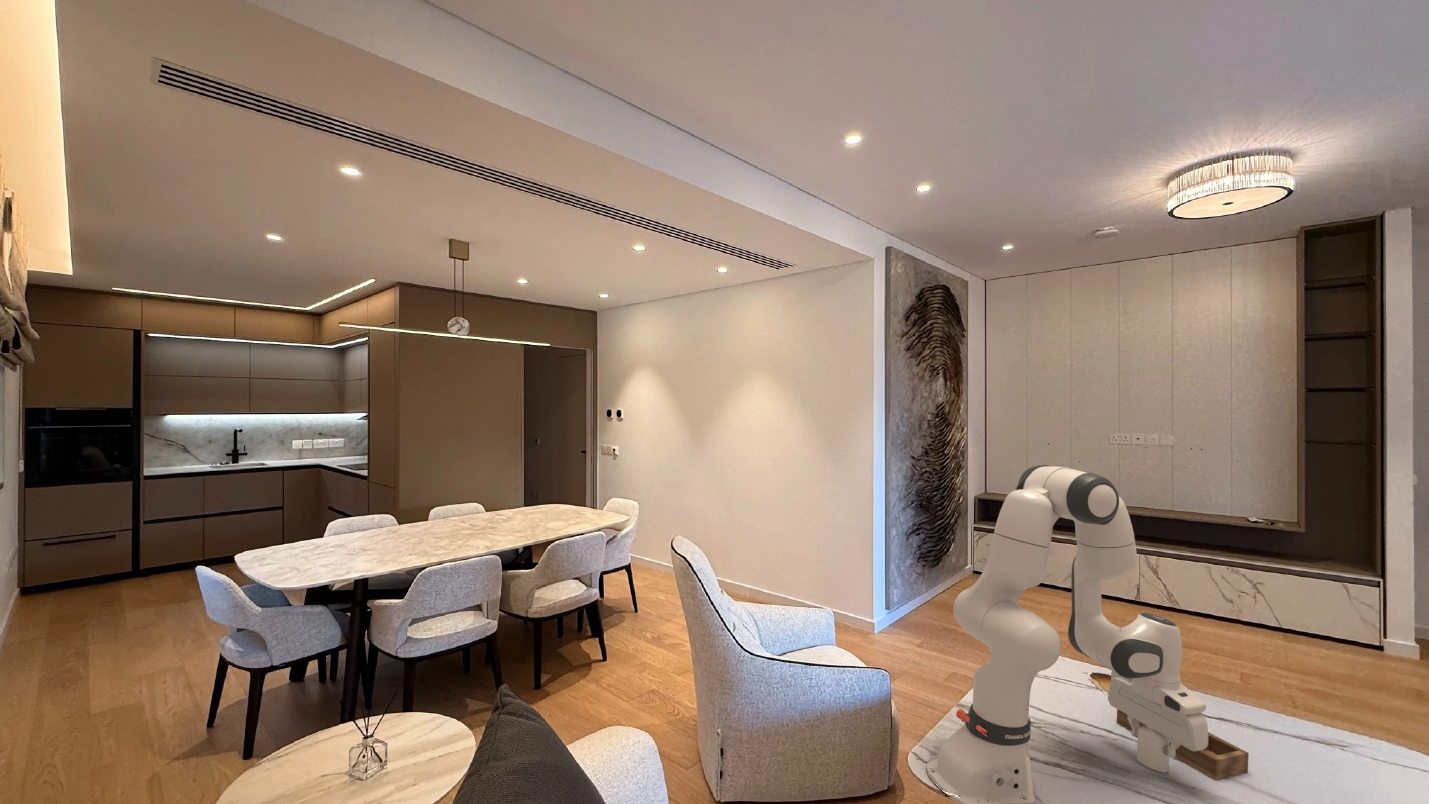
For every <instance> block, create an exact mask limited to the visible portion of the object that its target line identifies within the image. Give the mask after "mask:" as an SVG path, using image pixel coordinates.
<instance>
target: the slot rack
mask: <svg viewBox="0 0 1429 804" xmlns="http://www.w3.org/2000/svg"><path fill="white" fill-rule="evenodd" d="M1116 723H1117V724H1118V725H1120V726H1122V727H1123V728H1125V729H1127V730H1129V731H1130V732H1132V728H1131V726H1130V723H1129V721H1128V719H1127V714H1125V713H1124V712H1122V711H1120V710H1118V709H1116ZM1138 723H1139V726H1140V727H1142V726H1147V725H1145V724H1143V723H1141V722H1140V721H1138ZM1169 745H1171V743H1170V742H1169ZM1249 755H1250V754H1249V752H1247V751H1246V750H1244V749H1242V748H1240V747H1238V746H1236V745H1234V744H1232V743H1230V742H1229V741H1227V740H1225V739H1223V738H1220V737H1219V736H1217V735H1215V734H1213V733H1212V732H1209V731H1208V746H1207V748H1205V749H1203V750H1200V751H1191V750H1189V749H1188V748H1186V747H1184V746H1182V745H1180V746H1179V747H1178V748H1177V749H1176V754H1175V757H1174V758H1176V759H1177V760H1180V761H1182V762H1183V763H1185V764H1187V766H1191V767H1192V768H1194V769H1195V770H1197V771H1198V772H1200V773H1203V774H1204V775H1205V776H1207V777H1208V778H1211V779H1212V780H1214V781H1219V780H1222V779H1228V778H1232V777H1236V776H1239V775H1243V774H1247V773H1249Z"/></svg>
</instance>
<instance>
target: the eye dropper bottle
mask: <svg viewBox="0 0 1429 804" xmlns="http://www.w3.org/2000/svg"><path fill="white" fill-rule="evenodd" d="M1168 745H1169V738H1168V737H1166V736H1165V735H1163V734H1161V733H1159V732H1157V731H1156V730H1154V729H1152V728H1150V727H1149V726H1142V727H1140V728H1139V730H1138V738H1137V747H1136V760H1137V762H1138V763H1140V764H1141V765H1142V766H1144V767H1146V768H1149V769H1150V770H1153V771H1156V772H1159V773H1163V774H1165V773H1167V772H1168V770H1169V764H1170V763H1169V759H1170V757H1168V756H1167V755H1165V754H1164V753H1163V751H1164V750H1163V746H1168Z"/></svg>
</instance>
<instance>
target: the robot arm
mask: <svg viewBox="0 0 1429 804" xmlns="http://www.w3.org/2000/svg"><path fill="white" fill-rule="evenodd" d="M1125 503H1126V502H1125V501H1124V500H1123V499H1122V498H1121V497H1120V495H1119V492H1118V490H1117V487H1115V485H1114V484H1113V483H1112V482H1111V480H1109V479H1108V478H1106V477H1104V476H1101V475H1100V474H1097V473H1093V472H1086V471H1081V470H1078V469H1074V468H1072V467H1066V466H1054V465H1053V466H1052V465H1048V464H1042V465H1041V464H1039V465H1034V466H1031V467H1028V468H1027V469H1026V470H1025V471H1024V472H1023V473H1022V474H1021V476H1020V478H1019V480H1018V482H1017V485H1016V488H1015V490H1012V491H1011V492H1010V493H1008V494H1007V496H1006V497H1005V500H1004V501H1003V503H1002V506H1001V508H1000V510H999V513H998V517H997V520H996V523H995V527H994V532H993V535H992V536H993V537H992V539H991V540H992V541H991V545H990V548H989V553H988V554H989V555H988V557H987V561H986V564H985V567H984V569H983V571H982V572H981V575H980V576H979V578H978V579H977V580H976V582H975V583H974V584H973V585H972V586H970V587H968V588H966V589H964V590H962V591H961V592H960V593H959V594H958V595H957V596H956V598H955V600H954V602H953V610H952V611H953V615H954V619H955V620H956V622H957V623H958V624H959V625H960V626H961V627H962V628H963V630H965V631H966V633H968V634H969V635H970V636H971V637H973V638H974V639H976V640H977V641H979V642H981V643H982V644H983V645H986V646H987V647H988V648H989V650H990V658H989V662H988V663H985V664H983V665H981V666H979V667H978V668H977V669H976V670H975V671H974V674H973V686H972V703H971V705H970V706H969V710H968V712H965V711H964V709H961V708H958V709H957V711H956V712H955V716H956V718H957V719H959V720H961V721H962V722H963V723H964V724H963V725H962V726H961V727H959V728H958V729H957V730H956V731H955V732H954V733H953V734H951V736H949V737H948V738H947V739H946V740H945V741H943V742H942V743H941V744H940V747H939V751H938V755H937V758H936V759H933V760H931V761H928V762H927V763H926V766H925V771H926V773H928V774H927V775H928V777H929V779H930V778H931V779H930V780H931V781H932V782H933V784H934V785H935V784H937V785H938V787H937V788H938V789H939V790H940V789H942V790H943V791H945V792H948V793H952V794H955V795H958V796H959V797H960V798H958V797H955V795H950V796H951V797H953V798H951V797H948V798H949V799H951V800H952V801H953V802H955V803H957V804H1036V798H1035V795H1034V793H1035V790H1036V785H1035V782H1034V778H1033V773H1032V765H1031V757H1030V756H1031V755H1030V748H1029V747H1030V745H1029V741H1030V740H1031V733H1032V729H1031V726H1032V725H1031V719H1030V717H1029V716H1030V715H1029V714H1030V701H1031V699H1030V698H1031V690H1032V689H1031V688H1032V684H1033V681H1034V680H1035V678H1036V676H1037V675H1038V674H1039V673H1040V672H1042V671H1045V670H1047V669H1049V668H1051V667H1053V665H1054V664H1056V662H1057V661H1058V660H1059V658H1060V655H1061V650H1062V642H1061V638H1060V635H1059V633H1058V632H1057V630H1056V629H1055V628H1054V627H1053V626H1052V625H1050V623H1048V622H1047V621H1045V619H1043V618H1042V617H1040V616H1039V615H1038V614H1036V613H1035V612H1032V611H1030V610H1028V609H1025V608H1024V607H1021V606H1020V605H1019V601H1020V599H1021V597H1022V595H1023V594H1024V593H1025V591H1027V589H1031V588H1034V587H1037V586H1039V585H1040V584H1041V583H1042V582H1043V580H1044V576H1045V572H1046V567H1047V562H1048V558H1049V554H1050V553H1049V552H1050V547H1051V543H1052V536H1053V530H1054V529H1053V528H1054V525H1055V523H1056V522H1057V521H1058V519H1060V518H1063V519H1067V520H1072V521H1073V522H1074V526H1075V527H1074V531H1075V540H1076V548H1077V549H1076V555H1075V557H1074V558H1073V561H1072V564H1071V576H1070V577H1071V578H1070V579H1071V615H1070V620H1069V624H1068V628H1067V629H1068V630H1067V635H1068V641H1069V643H1070V644H1071V646H1072V647H1073V649H1074V650H1076V652H1078V653H1079V654H1081V655H1083V656H1085V657H1088V658H1090V659H1091V660H1093V661H1095V662H1097V663H1098V664H1099V665H1100V666H1101V665H1102V666H1103V667H1105V668H1106V669H1108V670H1110V671H1111V672H1110V675H1111V682H1110V686H1109V692H1108V696H1107V701H1108V704H1109V705H1110V706H1111V707H1112V708H1114V709H1116V710H1117V709H1118V710H1120V711H1122V712H1124V713H1125V714H1127V719H1128V721H1129V723H1130V726H1131V728H1132V731H1131V735H1132V737H1133V736H1134V738H1137V739H1138V730H1139V728H1140V726H1139V723H1138V721H1140V722H1141V723H1143V724H1145V725H1147V726H1149V727H1150V728H1152V729H1154V730H1156V731H1157V732H1159V733H1161V734H1163V735H1165V736H1166V737H1168V738H1169V742H1170V743H1171V745H1168V746H1163V750H1164V751H1163V753H1164V754H1165V755H1167V756H1168V757H1169V759H1171V758H1172V759H1173V758H1176V757H1175V754H1176V749H1177V748H1178V747H1179V746H1180V745H1182V746H1184V747H1186V748H1188V749H1189V750H1191V751H1200V750H1203V749H1205V748H1207V746H1208V732H1209V729H1208V728H1209V727H1208V721H1207V718H1206V716H1205V715H1204V714H1203V713H1204V712H1205V711H1206V709H1207V705H1206V703H1205V701H1203V700H1202V699H1201V698H1200V697H1198V696H1197V695H1196V694H1195V693H1194V692H1192V691H1191V690H1189V689H1188V688H1187V687H1186V686H1185V685H1184V684H1183V683H1182V682H1181V680H1182V679H1181V678H1182V677H1181V674H1180V666H1181V663H1182V662H1183V661H1182V660H1183V645H1182V644H1183V643H1182V642H1183V641H1182V634H1181V631H1180V628H1179V627H1178V625H1177V624H1176V623H1174V622H1173V621H1171V620H1170V619H1167V618H1165V617H1162V616H1160V615H1157V614H1153V613H1149V612H1141V613H1140V612H1139V613H1138V614H1137V616H1136V619H1135V620H1134V621H1132V622H1131V623H1129V624H1128V625H1125V626H1123V627H1120V626H1118V625H1115V624H1113V623H1112V622H1110V621H1109V620H1108V619H1107V618H1106V617H1105V615H1104V614H1103V611H1102V584H1103V581H1111V580H1116V579H1120V578H1122V577H1123V578H1124V577H1125V576H1127V575H1129V574H1130V573H1131V572H1132V571H1133V570H1134V568H1135V567H1136V565H1137V559H1138V557H1137V554H1138V553H1137V546H1136V539H1135V532H1134V529H1133V525H1132V521H1131V517H1130V515H1129V512H1128V509H1127V506H1126V504H1125ZM1022 799H1023V800H1022Z"/></svg>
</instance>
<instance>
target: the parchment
mask: <svg viewBox="0 0 1429 804" xmlns="http://www.w3.org/2000/svg"><path fill="white" fill-rule="evenodd" d="M1082 674H1086V675H1090V676H1089V677H1091V679H1088V681H1090V680H1091V681H1090V682H1091V683H1092V682H1094V683H1092V684H1093V685H1095V687H1097V688H1098V689H1099V690H1100V689H1104V690H1105V691H1104V690H1103V691H1101V692H1102V693H1103V692H1109V686H1110V682H1111V674H1107V673H1103V672H1096V671H1095V672H1093V671H1092V672H1091V674H1089V673H1088V672H1082ZM1107 694H1108V693H1107Z"/></svg>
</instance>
